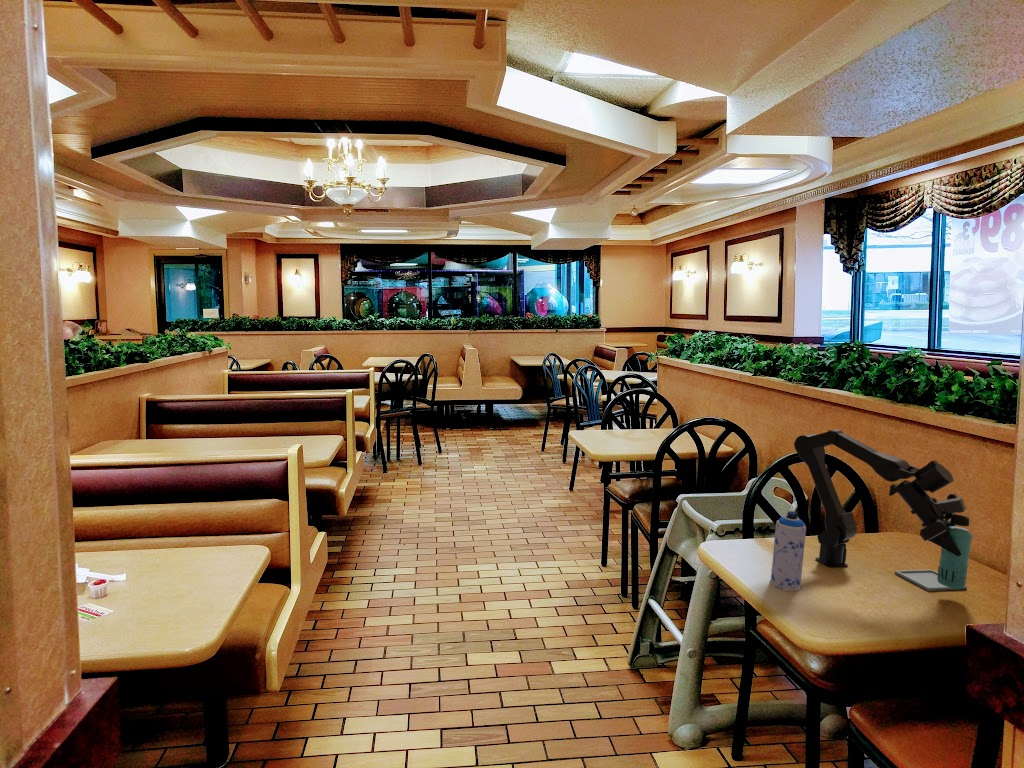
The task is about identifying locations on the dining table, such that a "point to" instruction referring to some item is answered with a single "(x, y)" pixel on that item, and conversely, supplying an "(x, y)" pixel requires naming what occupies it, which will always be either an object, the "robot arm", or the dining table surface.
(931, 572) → the tray
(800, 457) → the robot arm
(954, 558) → the beverage bottle
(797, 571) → the aerosol can
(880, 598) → the dining table surface
